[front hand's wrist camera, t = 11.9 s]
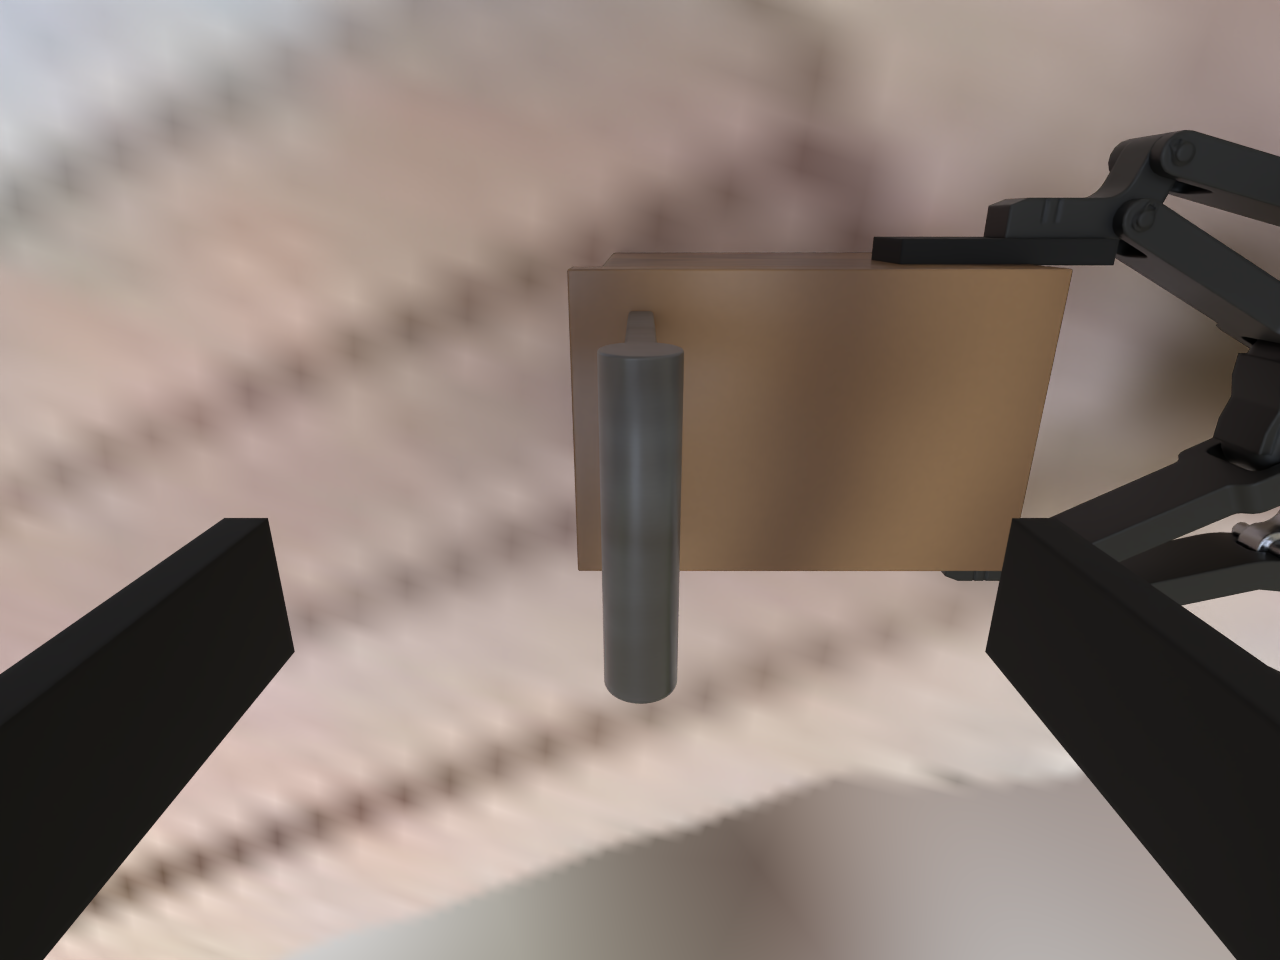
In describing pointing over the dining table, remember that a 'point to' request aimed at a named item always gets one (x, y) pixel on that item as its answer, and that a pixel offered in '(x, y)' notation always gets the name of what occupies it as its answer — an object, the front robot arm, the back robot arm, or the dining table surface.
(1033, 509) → the dining table surface
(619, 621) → the brown piece
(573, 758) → the dining table surface
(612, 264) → the chest
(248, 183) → the dining table surface
